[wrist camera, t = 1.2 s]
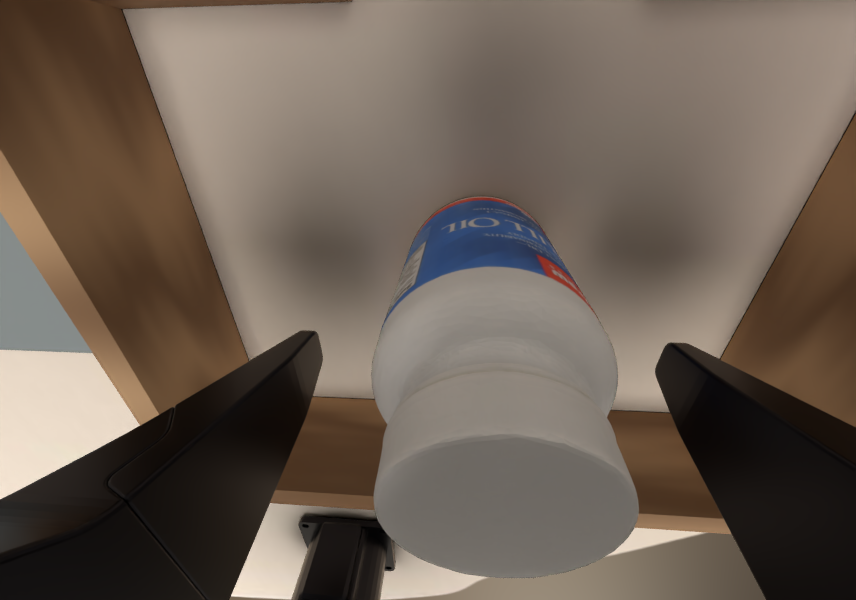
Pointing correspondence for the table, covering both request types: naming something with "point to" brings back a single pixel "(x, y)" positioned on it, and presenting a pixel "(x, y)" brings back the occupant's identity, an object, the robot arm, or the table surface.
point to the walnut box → (208, 308)
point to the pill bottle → (497, 404)
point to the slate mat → (30, 304)
